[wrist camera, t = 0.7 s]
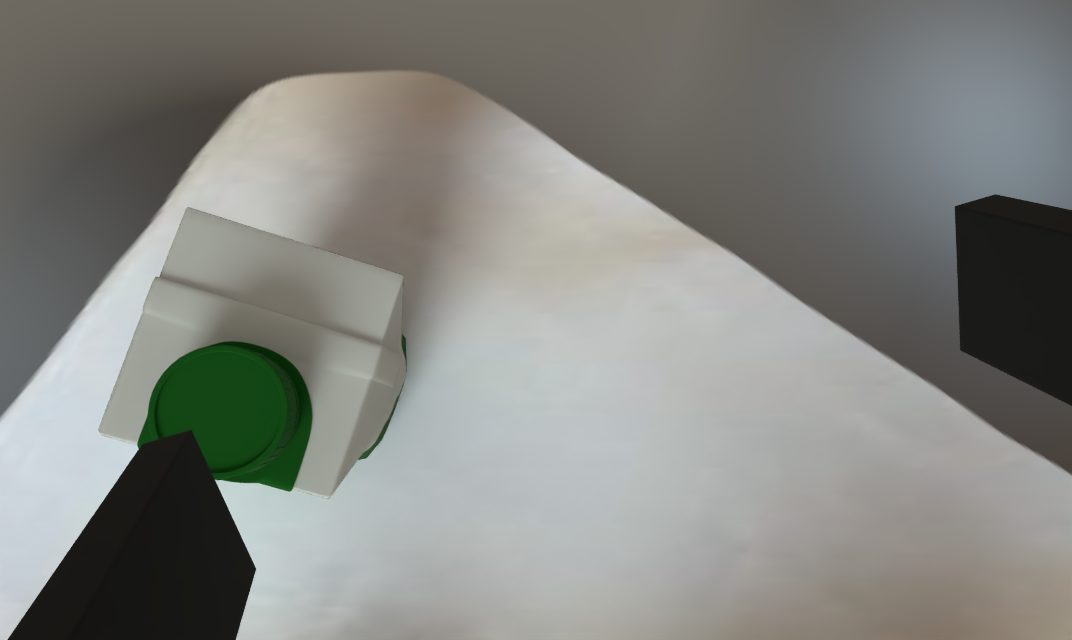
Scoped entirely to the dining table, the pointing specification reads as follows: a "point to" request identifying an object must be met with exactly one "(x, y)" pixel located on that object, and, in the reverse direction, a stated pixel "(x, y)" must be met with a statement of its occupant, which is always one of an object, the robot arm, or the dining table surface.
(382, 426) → the milk carton
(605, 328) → the dining table surface
